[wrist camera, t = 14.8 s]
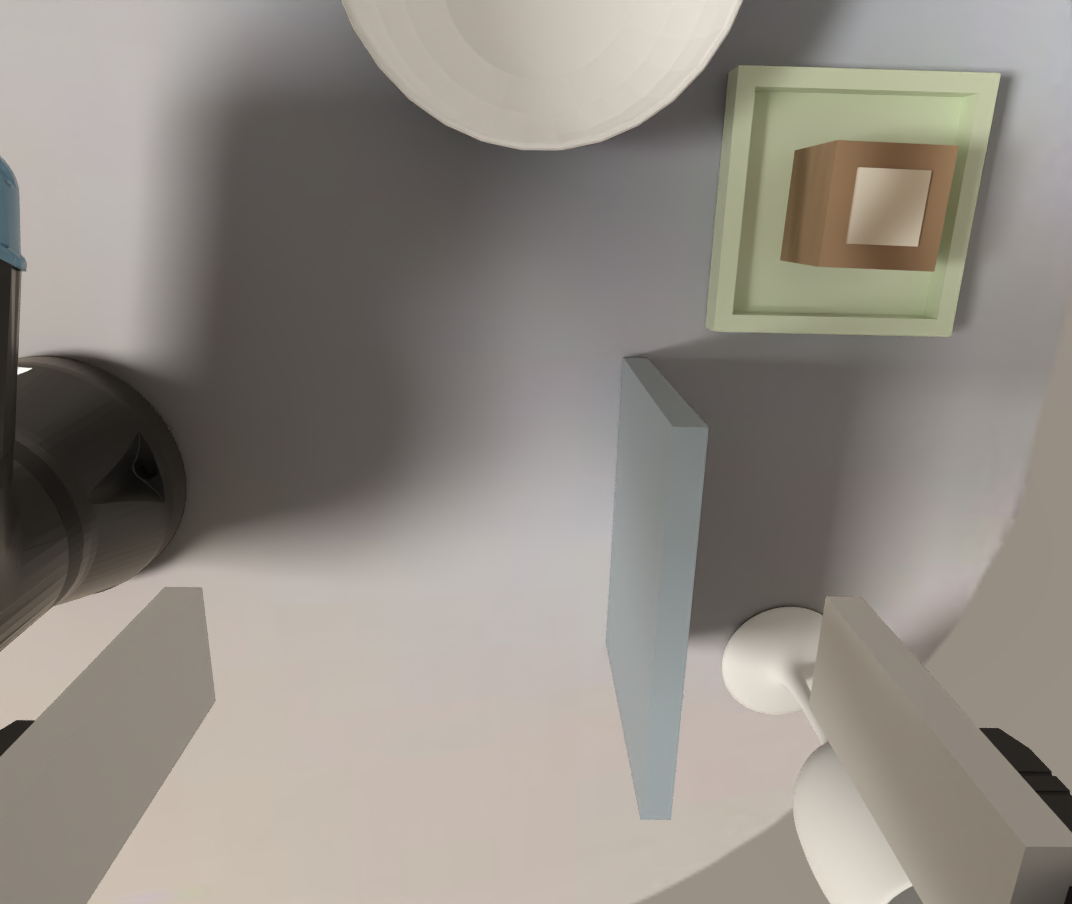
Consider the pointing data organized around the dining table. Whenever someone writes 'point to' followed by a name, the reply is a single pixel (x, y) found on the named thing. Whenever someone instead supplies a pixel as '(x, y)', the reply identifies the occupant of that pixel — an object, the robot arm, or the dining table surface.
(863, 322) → the tray
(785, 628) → the wineglass
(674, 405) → the screen
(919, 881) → the robot arm
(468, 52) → the bowl
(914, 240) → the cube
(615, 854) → the dining table surface
